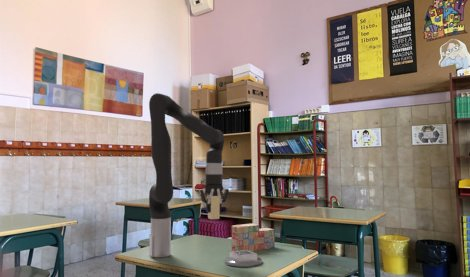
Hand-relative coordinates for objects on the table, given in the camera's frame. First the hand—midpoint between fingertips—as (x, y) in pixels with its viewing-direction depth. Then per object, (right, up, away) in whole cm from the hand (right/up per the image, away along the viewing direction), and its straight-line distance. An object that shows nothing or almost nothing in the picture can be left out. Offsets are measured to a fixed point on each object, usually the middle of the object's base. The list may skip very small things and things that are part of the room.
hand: (213, 212), depth 163 cm
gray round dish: (+13, -20, -6) cm, 25 cm away
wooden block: (0, -3, 0) cm, 3 cm away
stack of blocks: (+19, -23, +19) cm, 35 cm away
